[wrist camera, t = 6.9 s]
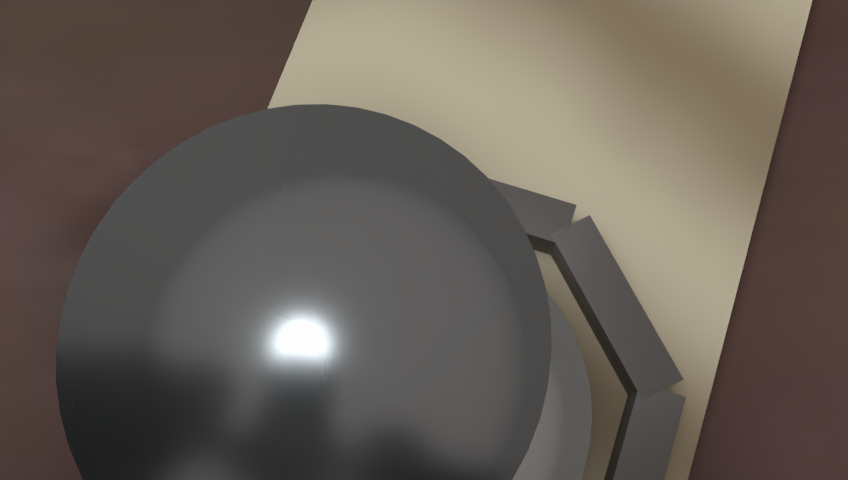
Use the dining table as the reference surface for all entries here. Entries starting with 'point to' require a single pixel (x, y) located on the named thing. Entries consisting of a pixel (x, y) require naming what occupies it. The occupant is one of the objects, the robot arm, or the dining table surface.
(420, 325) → the round base post
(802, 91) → the dining table surface
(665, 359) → the carrier board
